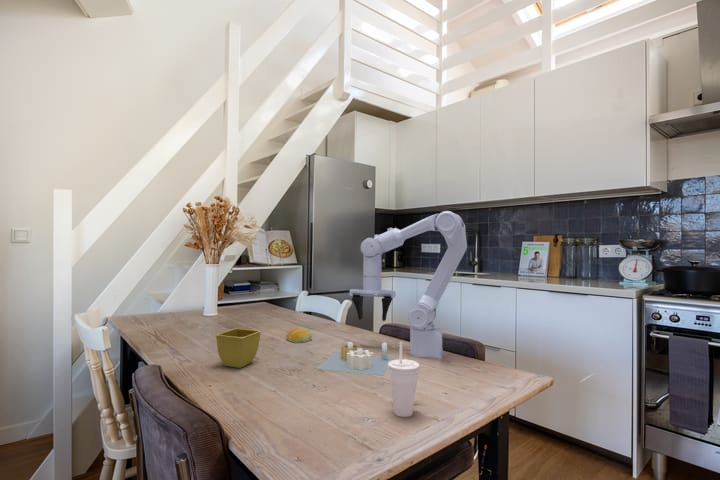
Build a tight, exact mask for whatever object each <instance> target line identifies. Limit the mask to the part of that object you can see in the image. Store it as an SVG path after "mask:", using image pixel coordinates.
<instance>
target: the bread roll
mask: <svg viewBox="0 0 720 480" xmlns="http://www.w3.org/2000/svg"><path fill="white" fill-rule="evenodd" d="M285 339H287V341H288V342H291V343H293V344H294V343H295V344H296V343H297V344H299V343H300V344H302V343H307V342H310V341H311V340H312V334H311V332H309V331H308V330H304V329H302V328H301V327H300V328H299V327H297V328H296V327H295V328H292V329H291V330H289V331H288V332H287V333H286V335H285Z"/></svg>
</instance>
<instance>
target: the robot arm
mask: <svg viewBox="0 0 720 480" xmlns="http://www.w3.org/2000/svg"><path fill="white" fill-rule="evenodd" d="M428 231H434V232H440V234H441V235H442V236H443V237H444V240H445V243H446V245H447V249H446V251H445V253H444V254H443V256H442V259H441V260H440V263H439V264H438V266H437V268H436V270H435V272H434V274H433V275H432V278H431V280H430V282H429V284H428V286H427V287H426V289H425V291H424V293H423V295H422V296H421V298H420V299H419V300H418V302H417V304H416V305H415V306H414V307H413V308H412V309H410V310H409V312H408V315H407V317H408V323H409V324H410V328H409V329H410V331H409V333H410V335H409V337H410V343H409V344H410V346H409V348H410V351H409V353H410V355H411V356H414V357H418V358H432V359H433V358H434V359H439V363H441V361H442V358H443V354H444V350H443V349H444V348H443V330H442V329H441V328H437V327H436V326H435V323H434V320H435V319H436V317H437V309H438V307H439V304H440V300H441V298H442V297H443V295H444V293H445V291H446V289H447V287H448V285H449V283H450V281H451V279H452V277H454V276H453V275H455V274H454V273H455V271H456V270H457V268H458V266H459V265H460V263H461V260H462V259H463V257H464V255H465V254H466V251H467V249H468V242H467V235H466V233H467V232H466V225H465V223H464V220H463V219H462V217H461V216H460V215H459V214H457V213H454V212H453V211H450V210H444V211H441V212H440V213H435V214H433V215H430V216H427V217H425V218H423V219H421V220H419V221H416V222H415V223H412V224H410V225H408V226H406V227H404V228H402V229H399V228H396V227H394V228H393V227H388V228H387V231H385V232H383V233H381V234H374V237H373V238H372V237H367V238H366V239H364V240H363V241H362V242H361V245H360V252H361V253H362V254H363V258H362V259H363V262H362V263H363V270H362V272H363V273H362V274H363V280H362V281H363V285H362V286H363V287H362V288H363V289H360V288H359V289H356V288H355V289H354V288H353V289H349V297H351V301H352V303H353V304H354V307H355V309H356V313H357V317H358V320H363V318H364V317H363V315H364V314H363V312H364V310H363V305H364V298H365V297H373V298H374V297H375V298H376V297H377V298H381V305H382V312H381V313H382V315H381V320H382V322H385V321H386V319H387V317H388V316H387V315H388V312H389V309H390V305H391V303H392V301H393V299H395V298H396V295H397V294H396V293H397V292H396V290H388V289H387V290H385V289H382V255H383V254H384V253H387V252H390V251H392V250H394V249H396V248H399V247H402V246H403V245H404V242H405V240H407V239H410V238H412V237H415V236H417V235H420V234H423V233H425V232H428Z"/></svg>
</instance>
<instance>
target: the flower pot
mask: <svg viewBox="0 0 720 480" xmlns="http://www.w3.org/2000/svg"><path fill="white" fill-rule="evenodd" d="M215 337H216V344H217V352H218V356H219V358H220V361H221V362H222V364H223V365H224V366H225V367H231V368H237V369H241V368H243V367H246V366H247V365H249V364H251V363H252V362H253V360H254V359H255V356H256V355H257V353H258V349H259V344H260V338H261V330H255V329H247V328H246V329H245V328H239V327H238V328H237V327H235V328H233V329H230V330H225V331H223V332H220V333H217V334H216V335H215Z"/></svg>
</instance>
